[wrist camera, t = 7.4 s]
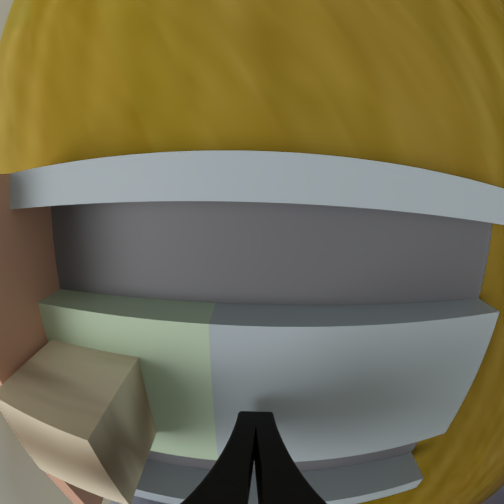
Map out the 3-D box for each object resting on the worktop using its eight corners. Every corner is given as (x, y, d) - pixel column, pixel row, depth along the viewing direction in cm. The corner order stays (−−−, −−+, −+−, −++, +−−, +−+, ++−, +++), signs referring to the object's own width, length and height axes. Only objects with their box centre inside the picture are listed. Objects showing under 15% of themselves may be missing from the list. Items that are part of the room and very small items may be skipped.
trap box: (402, 458, 16) (426, 513, 10) (105, 452, 16) (78, 508, 10) (488, 192, 11) (576, 206, 5) (38, 175, 11) (-56, 182, 5)
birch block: (156, 431, 12) (130, 506, 7) (78, 411, 12) (40, 469, 7) (138, 357, 11) (87, 440, 6) (52, 339, 11) (-9, 394, 6)
